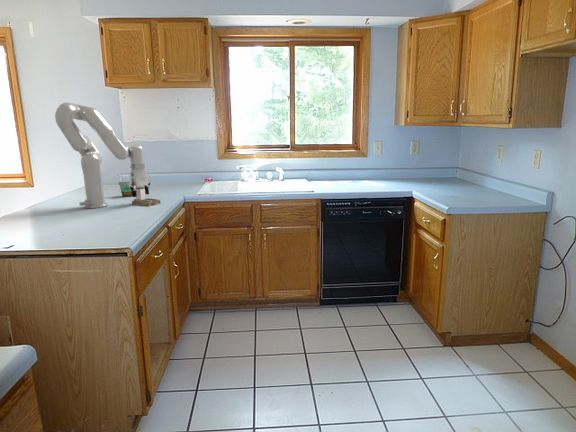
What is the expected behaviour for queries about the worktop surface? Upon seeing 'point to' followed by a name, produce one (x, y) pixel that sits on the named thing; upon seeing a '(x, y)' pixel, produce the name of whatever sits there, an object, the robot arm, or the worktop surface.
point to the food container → (125, 189)
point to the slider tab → (140, 193)
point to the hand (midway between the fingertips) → (140, 195)
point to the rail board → (146, 202)
